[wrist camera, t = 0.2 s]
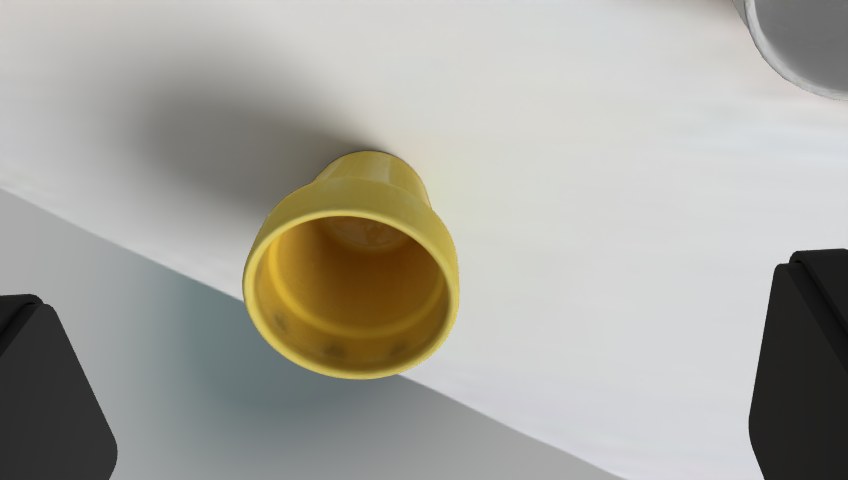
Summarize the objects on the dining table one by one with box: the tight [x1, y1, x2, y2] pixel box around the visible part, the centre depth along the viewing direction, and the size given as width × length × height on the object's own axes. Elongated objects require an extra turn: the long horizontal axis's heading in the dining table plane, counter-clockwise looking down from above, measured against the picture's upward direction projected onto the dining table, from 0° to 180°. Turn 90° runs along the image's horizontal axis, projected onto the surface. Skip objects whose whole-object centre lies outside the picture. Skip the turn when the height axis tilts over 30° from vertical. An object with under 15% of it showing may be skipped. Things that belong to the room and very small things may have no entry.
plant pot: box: [242, 151, 459, 379], centre depth 41 cm, size 10×10×10 cm
